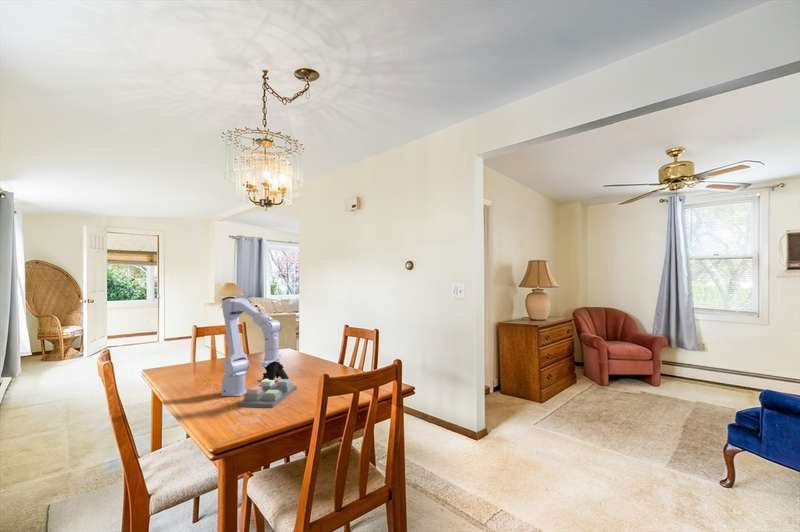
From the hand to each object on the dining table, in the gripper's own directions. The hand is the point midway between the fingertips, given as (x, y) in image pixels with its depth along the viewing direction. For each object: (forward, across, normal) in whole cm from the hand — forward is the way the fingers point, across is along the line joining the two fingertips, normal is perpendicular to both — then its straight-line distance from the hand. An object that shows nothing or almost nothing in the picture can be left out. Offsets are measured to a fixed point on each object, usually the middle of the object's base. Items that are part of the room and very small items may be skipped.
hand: (271, 379), depth 160 cm
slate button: (+6, +11, 0) cm, 13 cm away
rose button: (+6, -1, +8) cm, 10 cm away
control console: (+9, +5, +4) cm, 11 cm away
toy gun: (+10, +30, +13) cm, 34 cm away
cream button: (+6, +11, +8) cm, 15 cm away
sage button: (+7, -1, 0) cm, 7 cm away
